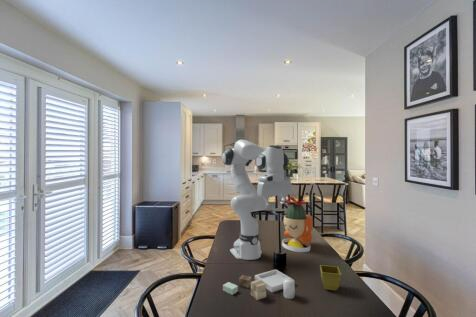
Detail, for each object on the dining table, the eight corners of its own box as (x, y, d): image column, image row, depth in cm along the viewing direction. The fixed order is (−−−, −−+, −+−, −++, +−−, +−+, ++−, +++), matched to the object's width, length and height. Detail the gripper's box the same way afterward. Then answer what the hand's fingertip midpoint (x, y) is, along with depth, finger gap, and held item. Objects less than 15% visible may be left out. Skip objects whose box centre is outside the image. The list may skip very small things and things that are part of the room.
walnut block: (238, 286, 122) (238, 278, 122) (242, 282, 126) (242, 274, 126) (248, 288, 120) (248, 280, 120) (251, 284, 124) (251, 276, 124)
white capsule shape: (281, 294, 115) (281, 279, 115) (289, 291, 117) (289, 276, 117) (288, 300, 110) (288, 284, 110) (296, 296, 113) (296, 281, 113)
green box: (222, 291, 118) (222, 285, 118) (228, 288, 121) (228, 281, 121) (232, 295, 114) (232, 289, 114) (237, 292, 117) (237, 285, 117)
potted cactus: (298, 255, 162) (299, 201, 162) (275, 245, 181) (276, 196, 181) (320, 249, 174) (321, 198, 174) (297, 240, 193) (297, 194, 193)
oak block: (250, 295, 114) (250, 281, 114) (259, 292, 117) (259, 279, 117) (257, 300, 110) (257, 286, 110) (266, 297, 113) (266, 283, 113)
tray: (254, 280, 128) (254, 275, 128) (275, 273, 136) (275, 269, 136) (271, 292, 116) (271, 287, 116) (294, 284, 124) (294, 279, 124)
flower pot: (338, 284, 124) (338, 266, 124) (341, 293, 116) (341, 274, 116) (319, 282, 126) (319, 264, 126) (321, 291, 118) (321, 272, 118)
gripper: (286, 176, 135) (286, 202, 135) (255, 177, 124) (255, 205, 124) (294, 176, 130) (294, 203, 129) (263, 178, 119) (263, 207, 119)
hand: (275, 204), depth 127 cm, fingers open, 8 cm apart
